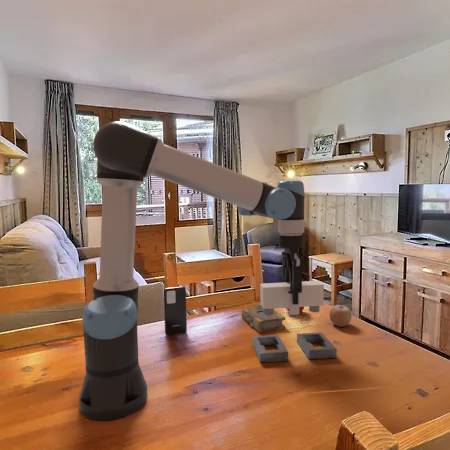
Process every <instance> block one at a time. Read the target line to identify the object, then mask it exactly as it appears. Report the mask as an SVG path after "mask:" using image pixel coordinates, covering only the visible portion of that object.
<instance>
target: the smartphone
mask: <svg viewBox="0 0 450 450" xmlns="http://www.w3.org/2000/svg"><path fill="white" fill-rule="evenodd" d="M186 290H187V288H186V286H173V287H165V288H164V289H163V309H164V312H163V313H164V314H163V315H164V334H165V335H166V336H172V335H173V336H174V335H180V334H181V335H182V334H186V333H188V327H187V326H188V322H187V321H188V319H187V293H186V292H187V291H186Z"/></svg>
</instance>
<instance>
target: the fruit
mask: <svg viewBox="0 0 450 450" xmlns="http://www.w3.org/2000/svg"><path fill="white" fill-rule="evenodd" d="M352 315H353V314H352V311H351V309H350V308H349V307H348V306H346V305H342V302H339V304H337V305H333V306H332V307H331V308H330V310H329V319H330V322H331V323H332V324H333V325H335V326H337V327H340V328H341V327H346V326H347V325H349V324H350V322H351V320H352Z"/></svg>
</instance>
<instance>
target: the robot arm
mask: <svg viewBox="0 0 450 450" xmlns="http://www.w3.org/2000/svg"><path fill="white" fill-rule="evenodd" d="M93 152H94V156H95V157H96V159H97V161H96V163H97V164H96V165H97V166H96V180H97V182H98V183H99V184H100V185H101V186H102V199H101V202H102V204H101V226H100V229H101V231H100V256H99V258H100V259H99V277H98V279H97V280H96V281H95V282H94V283H93V284H92V298H91V299H92V300H91V301H89V302H88V303H87V304H86V305H85V307H84V309H83V311H82V319H81V324H82V328H83V343H84V359H85V363H84V364H85V375H84V379H83V382H82V386H81V390H80V393H79V401H78V402H79V410H80V413H81V414H82V415H83V416H85V418H86V417H87V418H89V419H90V420H91V419H92V420H95V421H97V420H99V421H109V420H116V419H120V418H123V417H126V416H127V415H131V414H132V413H134V412H135V411H137V410H139V409H141V407H142V406H143V405H144V404H145V403H146V401H147V399H148V385H147V381H146V379H145V376H144V375H143V372H142V369H141V366H140V364H139V341H138V340H139V338H138V313H139V290H140V289H139V287H140V285H139V282H137V280H136V279H135V278H134V273H135V272H134V270H135V245H136V223H137V204H138V189H139V188H140V187H141V186H142V185H143V184H144V179H145V178H146V179H147V178H150V177H151V176H154V177H157V178H159V179H162V180H165V181H168V182H171V183H173V184H176V185H178V186H181V187H184V188H186V189H189V190H192V191H196V192H198V193H199V194H200V193H201V194H204V195H206V196H209V197H212V198H214V199H218V200H220V201H223V202H225V203H228V204H231V205H234V206H236V207H237V212H238V214H239V215H241V216H249V217H251V216H259V217H263V218H269V219H273V220H276V221H277V232H278V233H279V234H278V236H277V237H278V239H277V240H278V241H277V243H278V247H279V248H281V249H284V251H281V258H282V259H281V260H282V262H281V263H282V264H281V268H282V271H281V272H282V275H281V276H282V280H281V283H284V282H290V290H291V291H288V293H289V302H290V307H289V308H284V309H286V310H287V309H290V312H289V315H290V316H293V315H300V313H299V293H302V282H303V262H304V261H303V258H301V255H300V252H299V249H303V248H304V247H305V235H304V234H303V233H305V226H306V224H307V223H306V221H305V197H306V195H305V185H304V182H303V181H301V180H282V181H278V182H277V186H276V187H275V186H273V185H270V184H268V183H264V182H262V181H260V180H258V179H255V178H253V177H250V176H247V175H245V174H242V173H240V172H238V171H234V170H232V169H230V168H226V167H224V166H222V165H219V164H217V163H214V162H211V161H209V160H206V159H204V158H201V157H198V156H196V155H194V154H191V153H188V152H185V151H183V150H180V149H178V148H175V147H173V146H170V145H167V144H165V143H164V142H163V140H162V138H161V137H160V136H157V135H155V134H152V133H151V132H148V131H146V130H143V129H141V128H140V127H137V126H135V125H133V124H131V123H128V122H125V121H119V120H118V121H117V120H116V121H111V122H108V123H105V124H104V125H102V126H101V127H100V128H99V129H98V131H97V132H96V134H95V135H94V139H93Z"/></svg>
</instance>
